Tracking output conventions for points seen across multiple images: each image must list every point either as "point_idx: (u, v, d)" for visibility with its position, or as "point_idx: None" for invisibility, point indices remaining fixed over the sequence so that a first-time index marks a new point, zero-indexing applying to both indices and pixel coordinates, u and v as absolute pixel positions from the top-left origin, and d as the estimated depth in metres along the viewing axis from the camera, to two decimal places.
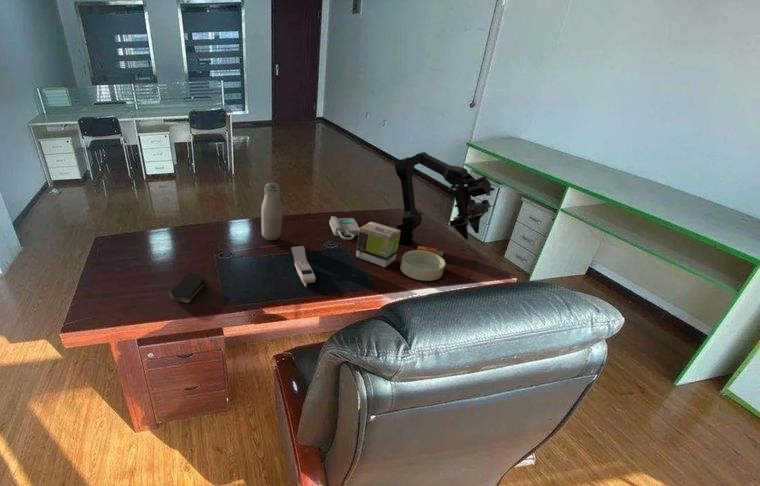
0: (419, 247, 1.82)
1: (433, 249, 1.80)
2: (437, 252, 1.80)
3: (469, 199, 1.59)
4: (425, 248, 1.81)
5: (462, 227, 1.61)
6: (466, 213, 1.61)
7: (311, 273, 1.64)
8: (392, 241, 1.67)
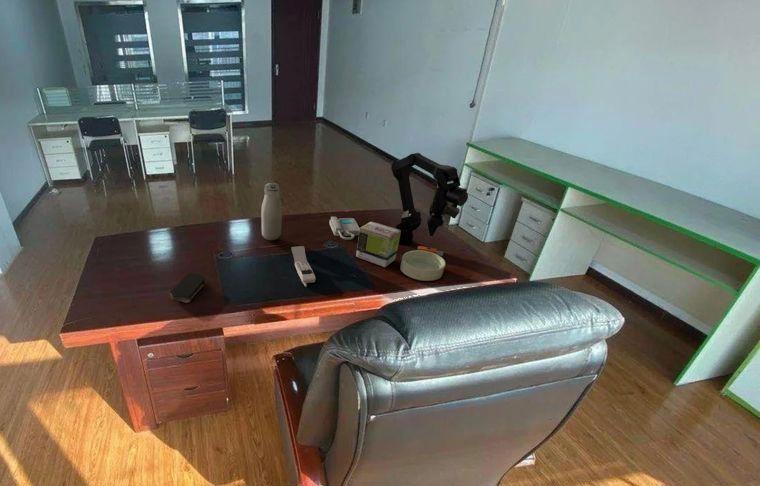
0: (419, 247, 1.82)
1: (433, 249, 1.80)
2: (437, 252, 1.80)
3: (447, 200, 1.66)
4: (425, 248, 1.81)
5: (434, 225, 1.69)
6: (440, 212, 1.68)
7: (311, 273, 1.64)
8: (392, 241, 1.67)
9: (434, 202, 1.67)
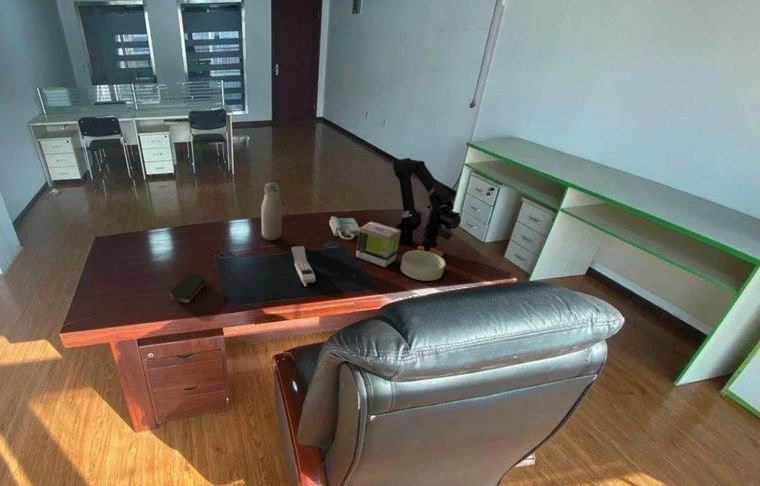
0: (419, 247, 1.82)
1: (433, 249, 1.80)
2: (437, 252, 1.80)
3: (441, 222, 1.72)
4: None
5: None
6: (434, 234, 1.74)
7: (311, 273, 1.64)
8: (392, 241, 1.67)
9: (428, 224, 1.72)
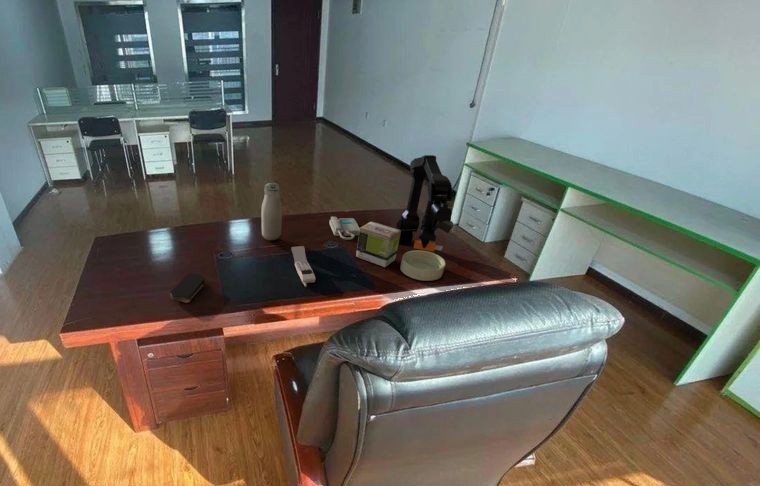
0: (416, 241, 1.65)
1: (431, 243, 1.64)
2: (436, 246, 1.63)
3: None
4: None
5: None
6: (432, 227, 1.57)
7: (311, 273, 1.64)
8: (392, 241, 1.67)
9: (426, 215, 1.56)
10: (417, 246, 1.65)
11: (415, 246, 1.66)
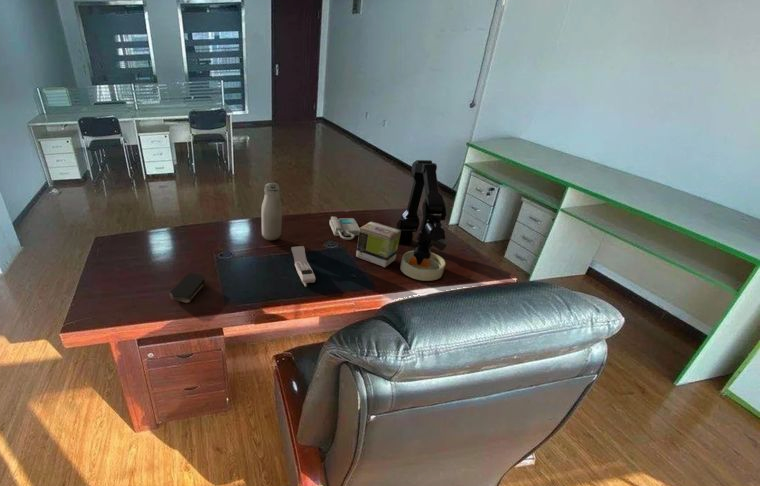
0: (411, 258, 1.68)
1: (426, 260, 1.67)
2: (431, 263, 1.66)
3: None
4: None
5: None
6: (427, 244, 1.60)
7: (311, 273, 1.64)
8: (392, 241, 1.67)
9: (421, 234, 1.59)
10: (412, 262, 1.68)
11: (410, 262, 1.69)
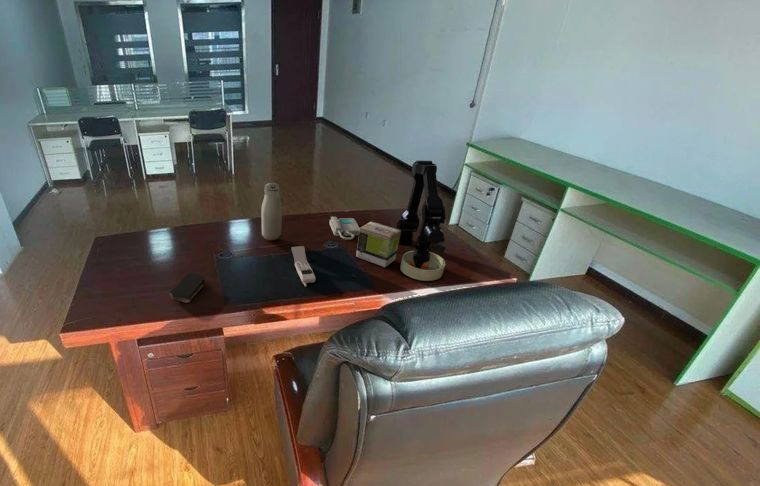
0: (410, 262, 1.70)
1: (425, 264, 1.68)
2: (429, 268, 1.68)
3: None
4: None
5: (420, 260, 1.62)
6: (426, 247, 1.61)
7: (311, 273, 1.64)
8: (392, 241, 1.67)
9: (420, 236, 1.60)
10: None
11: None
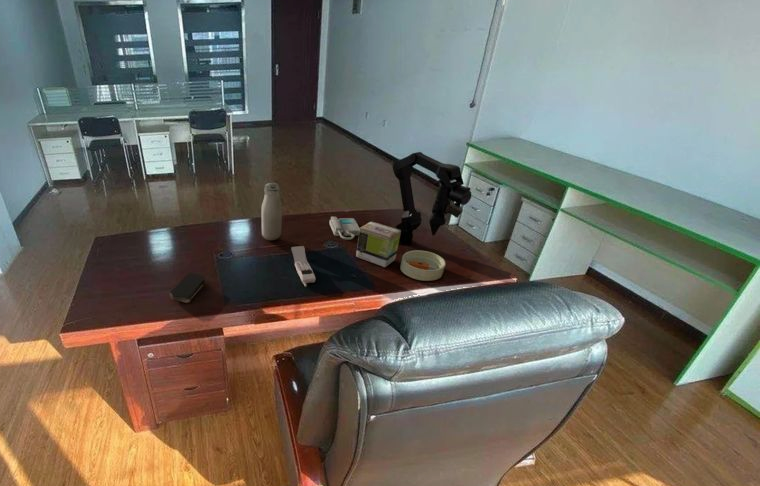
0: (410, 262, 1.70)
1: (425, 264, 1.68)
2: (429, 268, 1.68)
3: (450, 199, 1.65)
4: (416, 263, 1.69)
5: (436, 224, 1.68)
6: (442, 211, 1.67)
7: (311, 273, 1.64)
8: (392, 241, 1.67)
9: (437, 201, 1.66)
10: None
11: None
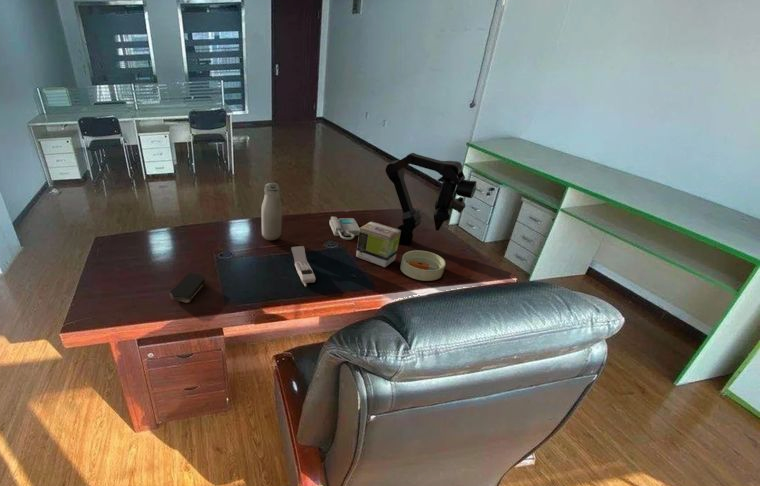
0: (410, 262, 1.70)
1: (425, 264, 1.68)
2: (429, 268, 1.68)
3: (453, 195, 1.68)
4: (416, 263, 1.69)
5: (440, 220, 1.71)
6: (446, 207, 1.70)
7: (311, 273, 1.64)
8: (392, 241, 1.67)
9: (440, 197, 1.69)
10: None
11: None
